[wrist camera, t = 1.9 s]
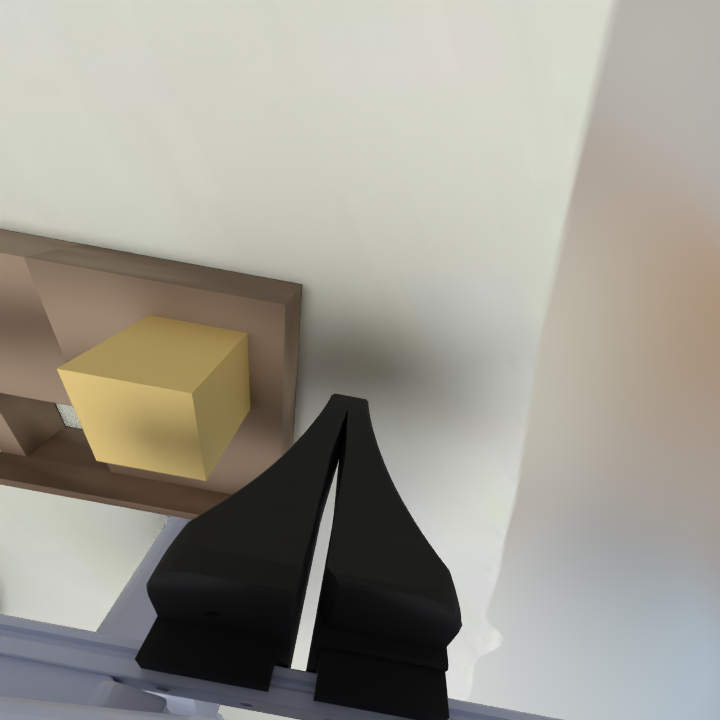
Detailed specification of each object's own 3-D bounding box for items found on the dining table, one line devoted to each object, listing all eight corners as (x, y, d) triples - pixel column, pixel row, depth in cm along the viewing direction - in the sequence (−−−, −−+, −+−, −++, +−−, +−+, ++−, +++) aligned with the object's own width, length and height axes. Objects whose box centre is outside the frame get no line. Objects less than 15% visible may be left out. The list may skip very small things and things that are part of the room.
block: (250, 408, 15) (205, 481, 11) (166, 393, 15) (96, 460, 11) (247, 333, 12) (191, 393, 9) (149, 315, 12) (56, 368, 9)
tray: (291, 474, 21) (270, 534, 17) (-110, 400, 21) (-210, 445, 17) (302, 284, 14) (271, 321, 10) (-295, 175, 14) (-520, 176, 10)
